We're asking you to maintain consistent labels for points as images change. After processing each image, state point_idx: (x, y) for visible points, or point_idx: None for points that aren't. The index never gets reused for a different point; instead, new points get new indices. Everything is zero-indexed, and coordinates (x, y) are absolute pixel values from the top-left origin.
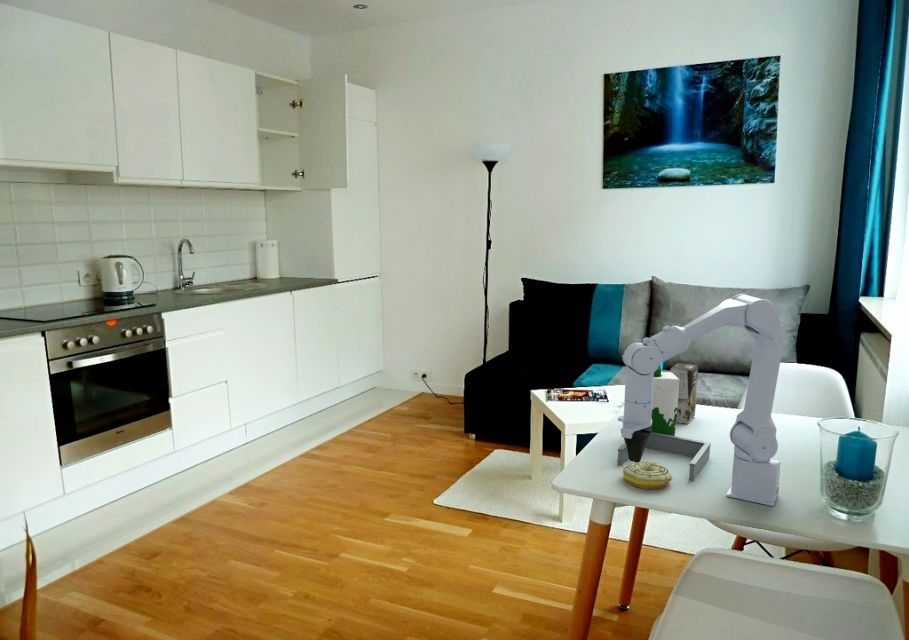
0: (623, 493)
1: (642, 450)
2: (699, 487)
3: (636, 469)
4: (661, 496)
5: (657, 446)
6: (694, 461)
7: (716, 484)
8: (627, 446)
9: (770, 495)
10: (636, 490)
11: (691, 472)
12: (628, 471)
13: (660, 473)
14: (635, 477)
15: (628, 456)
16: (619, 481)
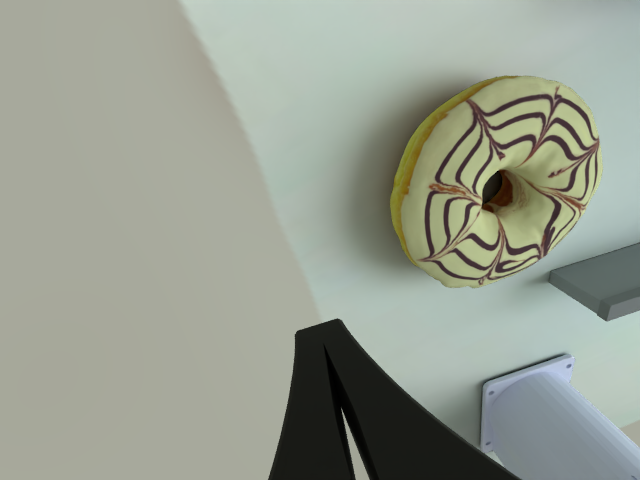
0: (298, 186)
1: (364, 464)
2: (509, 315)
3: (458, 186)
4: (374, 288)
5: None
6: (634, 306)
7: (552, 329)
8: (279, 451)
9: (503, 462)
10: (364, 205)
11: (576, 292)
12: (434, 151)
13: (477, 274)
14: (403, 201)
15: (297, 349)
16: (405, 96)
